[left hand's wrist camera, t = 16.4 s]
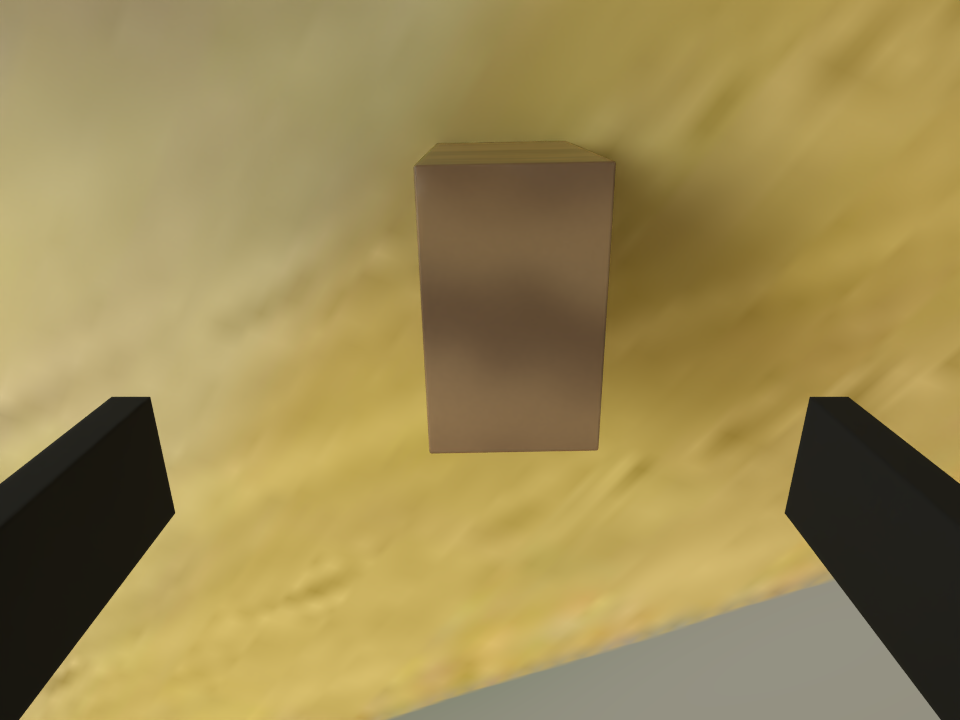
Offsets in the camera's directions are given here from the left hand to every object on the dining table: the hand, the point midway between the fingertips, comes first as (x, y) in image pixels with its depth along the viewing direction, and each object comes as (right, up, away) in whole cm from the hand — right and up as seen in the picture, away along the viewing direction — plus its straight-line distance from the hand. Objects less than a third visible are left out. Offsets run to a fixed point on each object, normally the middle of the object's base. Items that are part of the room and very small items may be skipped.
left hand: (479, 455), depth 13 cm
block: (+1, +7, +15) cm, 16 cm away
